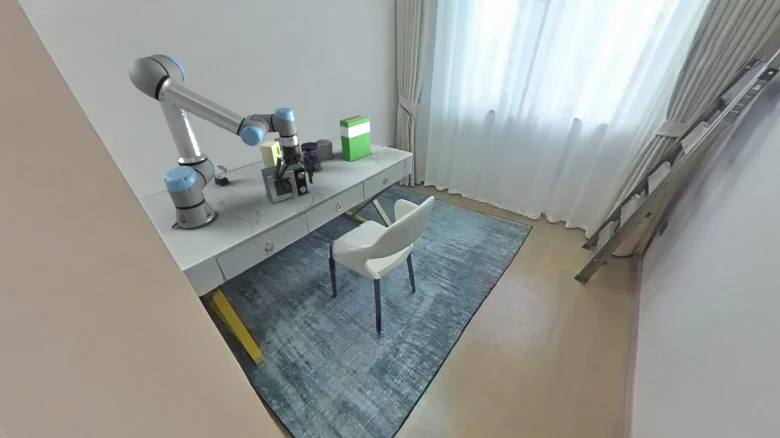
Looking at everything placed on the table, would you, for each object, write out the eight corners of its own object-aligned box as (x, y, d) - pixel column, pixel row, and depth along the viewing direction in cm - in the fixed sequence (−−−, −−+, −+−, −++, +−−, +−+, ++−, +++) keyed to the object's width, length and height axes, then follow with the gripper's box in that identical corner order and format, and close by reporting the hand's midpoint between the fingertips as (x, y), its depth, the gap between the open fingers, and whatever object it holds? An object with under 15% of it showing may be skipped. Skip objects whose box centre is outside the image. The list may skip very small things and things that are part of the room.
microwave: (308, 193, 163) (304, 168, 155) (274, 203, 154) (268, 177, 147) (300, 185, 171) (296, 161, 163) (266, 194, 162) (260, 169, 154)
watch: (232, 181, 174) (226, 163, 168) (218, 187, 168) (212, 168, 162) (225, 179, 176) (220, 160, 170) (212, 184, 171) (206, 165, 165)
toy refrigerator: (280, 183, 172) (272, 146, 161) (267, 182, 173) (259, 145, 162) (286, 177, 179) (279, 141, 167) (274, 176, 180) (267, 140, 168)
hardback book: (362, 150, 213) (361, 114, 200) (370, 153, 209) (369, 116, 196) (342, 158, 202) (339, 120, 189) (350, 161, 198) (347, 123, 185)
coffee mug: (325, 161, 198) (323, 145, 193) (314, 157, 203) (312, 142, 198) (339, 154, 207) (338, 139, 202) (328, 151, 212) (327, 136, 207)
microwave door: (303, 201, 156) (299, 175, 149) (278, 208, 150) (272, 182, 143) (297, 194, 162) (292, 169, 154) (272, 201, 156) (266, 176, 148)
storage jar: (315, 173, 183) (311, 149, 174) (301, 171, 186) (297, 146, 177) (324, 167, 190) (321, 143, 182) (310, 164, 193) (307, 141, 185)
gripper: (264, 153, 132) (274, 197, 144) (319, 141, 144) (324, 182, 156) (259, 148, 138) (269, 191, 149) (312, 136, 149) (318, 177, 161)
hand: (298, 186), depth 153 cm, fingers open, 13 cm apart
